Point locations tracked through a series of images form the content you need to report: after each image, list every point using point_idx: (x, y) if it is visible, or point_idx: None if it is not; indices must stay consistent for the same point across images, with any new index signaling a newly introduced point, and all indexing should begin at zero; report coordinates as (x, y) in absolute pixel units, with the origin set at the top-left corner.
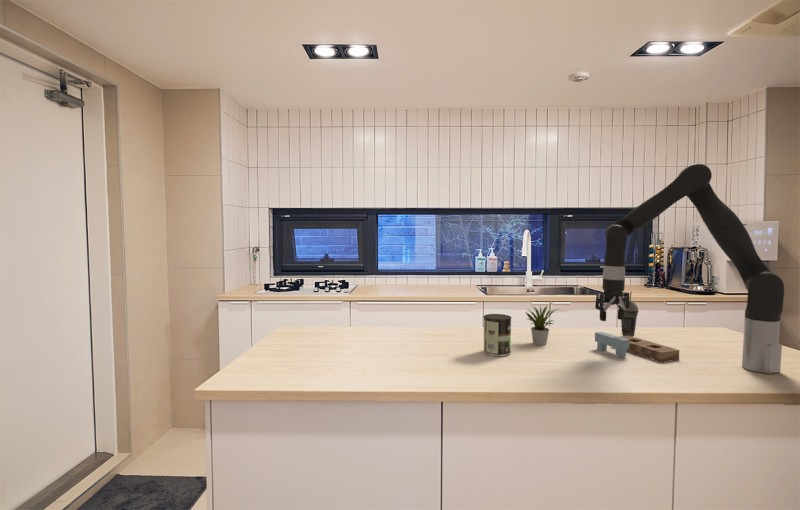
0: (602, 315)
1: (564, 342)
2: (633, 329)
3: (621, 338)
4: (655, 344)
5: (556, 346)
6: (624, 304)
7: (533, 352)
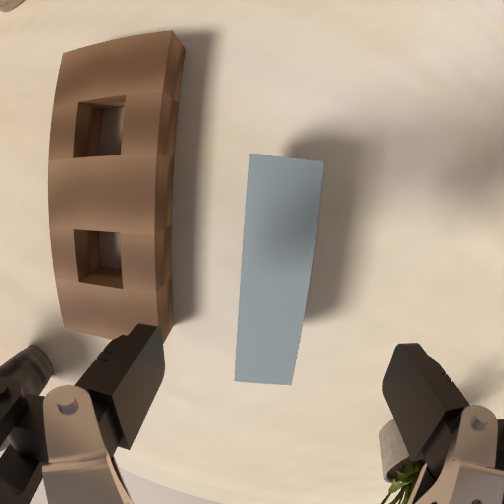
0: (453, 384)
1: (316, 423)
2: (15, 359)
3: (271, 206)
4: (64, 156)
5: None
6: (20, 449)
7: (491, 358)
